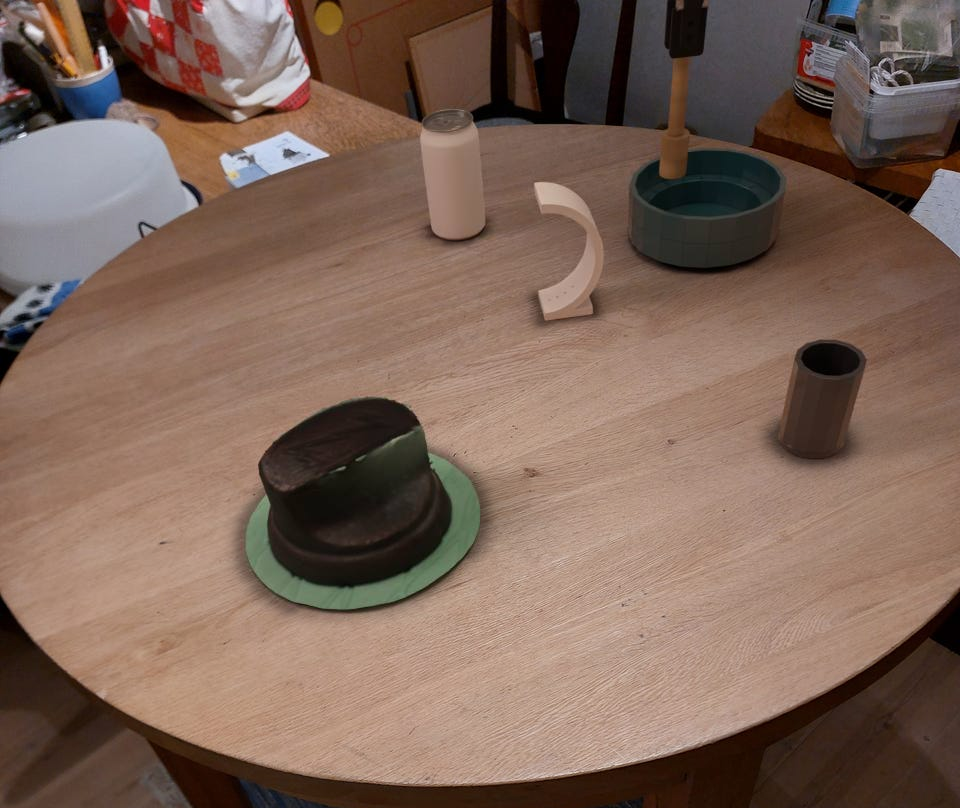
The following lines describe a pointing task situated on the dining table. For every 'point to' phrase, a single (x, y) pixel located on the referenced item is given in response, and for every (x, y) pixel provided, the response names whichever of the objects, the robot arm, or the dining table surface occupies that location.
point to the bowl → (707, 209)
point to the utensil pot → (821, 398)
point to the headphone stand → (577, 287)
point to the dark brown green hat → (358, 508)
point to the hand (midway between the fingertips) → (683, 50)
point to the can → (453, 174)
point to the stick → (676, 125)
